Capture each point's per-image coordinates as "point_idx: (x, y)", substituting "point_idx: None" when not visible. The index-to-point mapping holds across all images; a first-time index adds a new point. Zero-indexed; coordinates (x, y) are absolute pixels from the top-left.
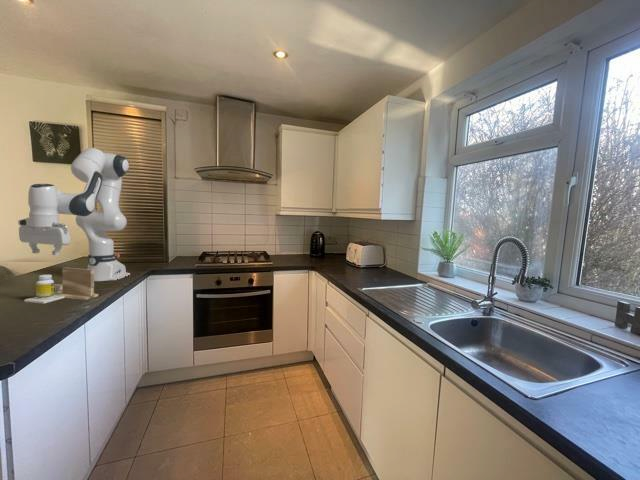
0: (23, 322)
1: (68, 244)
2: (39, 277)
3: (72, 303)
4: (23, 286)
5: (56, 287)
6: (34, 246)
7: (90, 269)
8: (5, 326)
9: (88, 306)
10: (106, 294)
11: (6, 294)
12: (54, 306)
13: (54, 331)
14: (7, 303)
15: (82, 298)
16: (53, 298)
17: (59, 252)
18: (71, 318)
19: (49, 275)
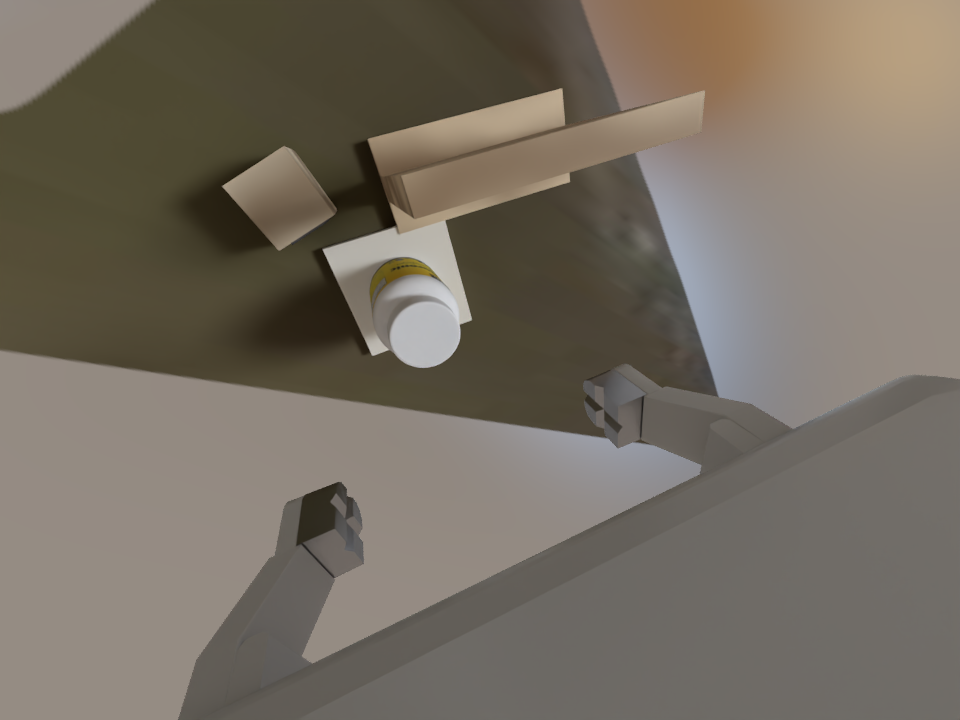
0: None
1: (912, 382)
2: (427, 364)
3: (560, 249)
4: None
5: (333, 211)
6: (284, 618)
7: (675, 104)
8: (596, 436)
9: (644, 236)
10: (562, 27)
11: (115, 363)
12: (540, 309)
13: (710, 384)
14: (352, 396)
15: (547, 188)
16: (450, 274)
17: (642, 374)
18: (684, 330)
19: (440, 318)
